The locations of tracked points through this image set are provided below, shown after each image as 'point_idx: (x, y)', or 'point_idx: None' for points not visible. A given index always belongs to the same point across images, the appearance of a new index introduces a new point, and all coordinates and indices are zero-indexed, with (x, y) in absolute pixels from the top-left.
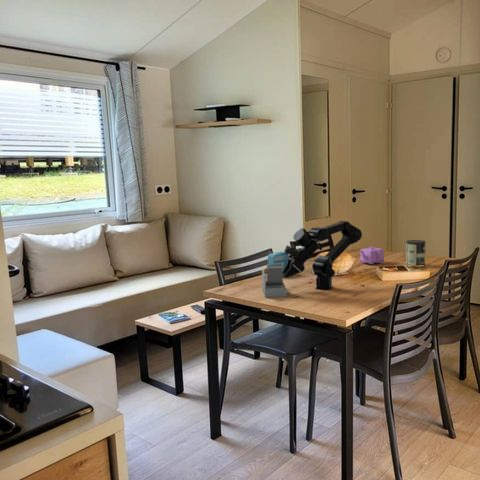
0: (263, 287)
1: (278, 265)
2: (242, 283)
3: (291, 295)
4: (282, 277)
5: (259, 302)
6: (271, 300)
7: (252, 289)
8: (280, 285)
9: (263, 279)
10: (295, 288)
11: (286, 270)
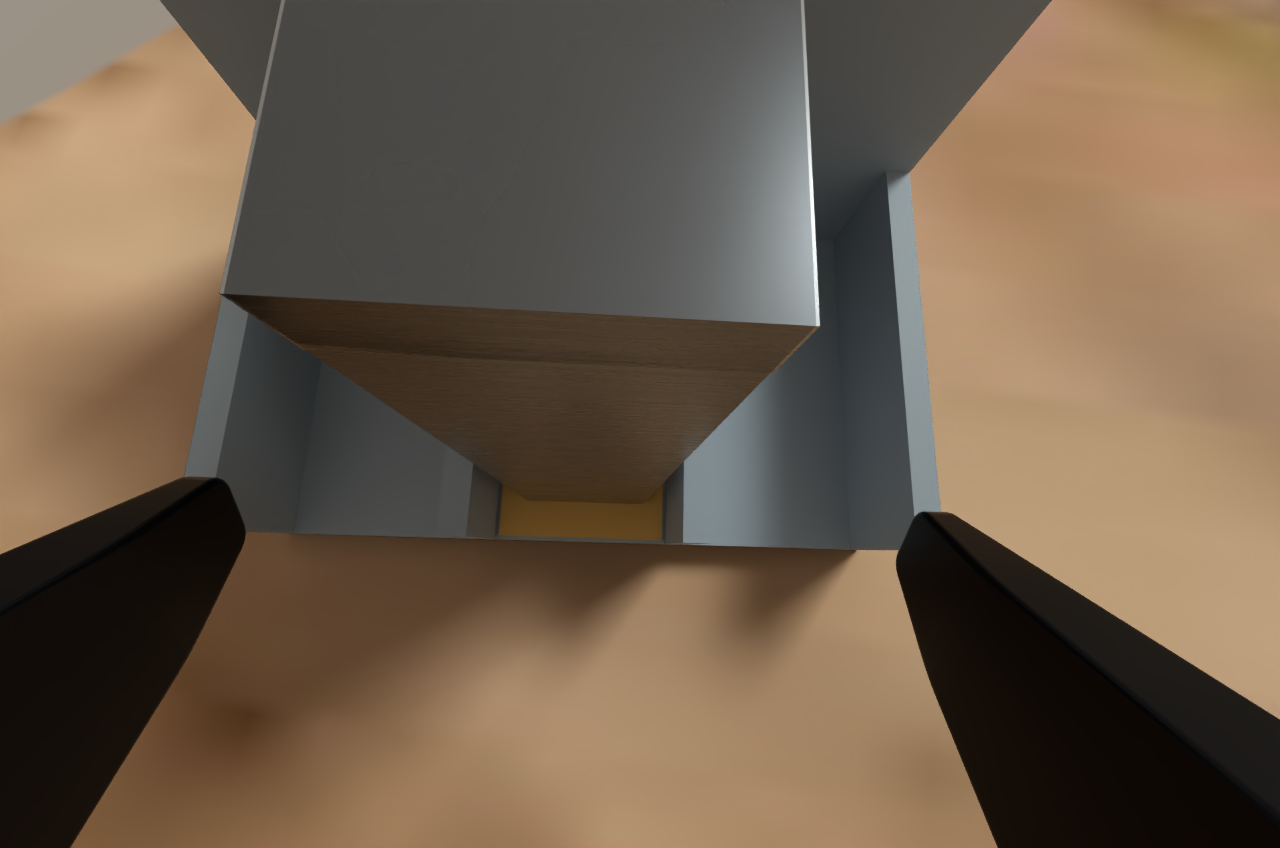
0: None
1: (591, 63)
2: (1205, 42)
3: (343, 631)
4: (472, 461)
5: (87, 100)
6: (132, 268)
7: None
8: None
9: None
10: (844, 786)
11: (988, 697)
